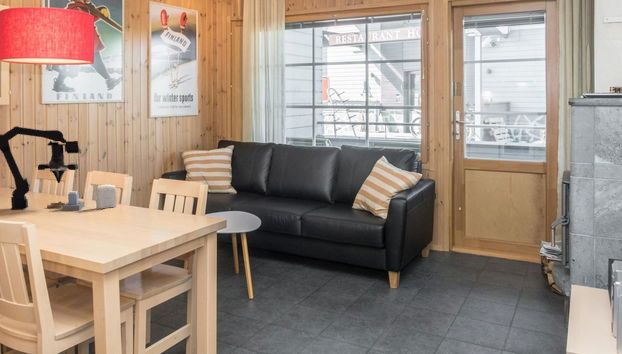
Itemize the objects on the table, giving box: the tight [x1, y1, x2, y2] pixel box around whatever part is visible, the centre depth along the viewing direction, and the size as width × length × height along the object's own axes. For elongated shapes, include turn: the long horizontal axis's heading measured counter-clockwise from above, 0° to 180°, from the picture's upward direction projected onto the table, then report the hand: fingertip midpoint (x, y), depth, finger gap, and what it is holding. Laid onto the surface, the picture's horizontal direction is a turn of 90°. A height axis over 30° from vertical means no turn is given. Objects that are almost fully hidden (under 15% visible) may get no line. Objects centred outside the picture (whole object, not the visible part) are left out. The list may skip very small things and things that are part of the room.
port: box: [62, 201, 85, 212], centre depth 269 cm, size 8×12×3 cm, turn 11°
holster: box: [46, 200, 66, 209], centre depth 276 cm, size 9×15×2 cm, turn 11°
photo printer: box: [95, 184, 117, 210], centre depth 272 cm, size 10×4×12 cm, turn 134°
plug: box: [67, 190, 80, 205], centre depth 268 cm, size 4×4×9 cm
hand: (58, 182), depth 273 cm, fingers closed
